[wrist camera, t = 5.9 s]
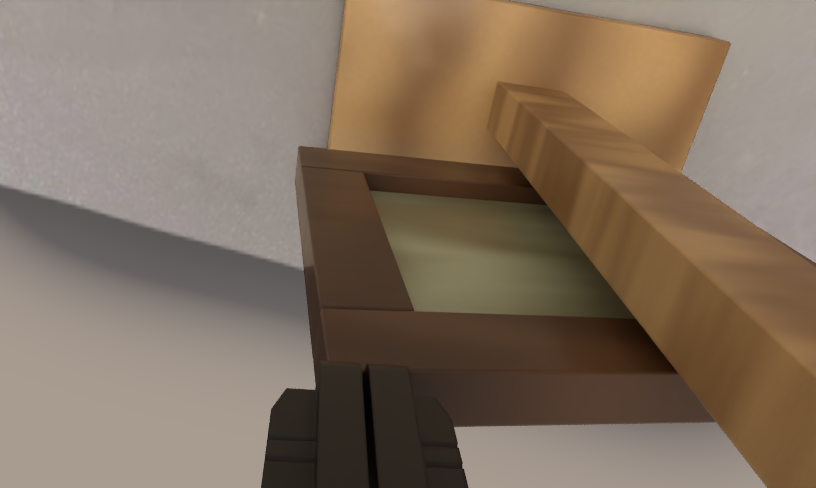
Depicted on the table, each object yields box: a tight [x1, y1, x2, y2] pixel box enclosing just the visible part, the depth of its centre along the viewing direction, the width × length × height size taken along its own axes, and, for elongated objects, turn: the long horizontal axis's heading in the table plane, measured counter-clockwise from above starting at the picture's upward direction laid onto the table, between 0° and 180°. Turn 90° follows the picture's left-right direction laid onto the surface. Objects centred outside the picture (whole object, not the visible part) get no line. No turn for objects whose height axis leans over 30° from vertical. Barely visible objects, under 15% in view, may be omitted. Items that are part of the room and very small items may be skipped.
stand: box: [327, 0, 816, 488], centre depth 17 cm, size 16×8×23 cm, turn 80°
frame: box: [295, 146, 816, 427], centre depth 18 cm, size 16×1×12 cm, turn 80°
